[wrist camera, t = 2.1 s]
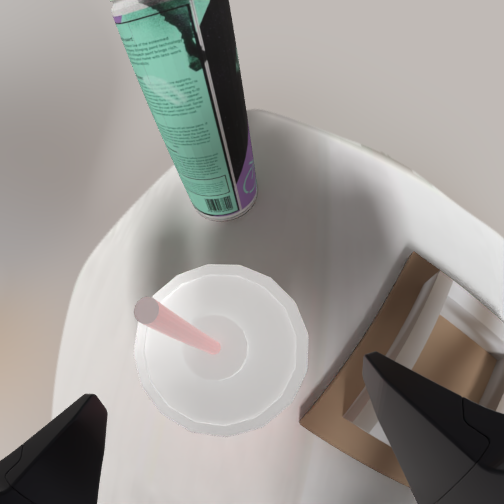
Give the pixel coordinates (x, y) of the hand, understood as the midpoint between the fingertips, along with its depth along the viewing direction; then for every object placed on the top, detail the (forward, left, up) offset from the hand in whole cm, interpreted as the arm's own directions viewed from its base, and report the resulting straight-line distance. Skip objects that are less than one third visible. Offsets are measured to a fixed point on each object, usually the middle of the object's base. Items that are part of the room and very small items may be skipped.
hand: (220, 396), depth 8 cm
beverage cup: (+1, -1, -10) cm, 10 cm away
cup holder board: (-11, -7, -9) cm, 16 cm away
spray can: (+11, -10, -10) cm, 18 cm away
